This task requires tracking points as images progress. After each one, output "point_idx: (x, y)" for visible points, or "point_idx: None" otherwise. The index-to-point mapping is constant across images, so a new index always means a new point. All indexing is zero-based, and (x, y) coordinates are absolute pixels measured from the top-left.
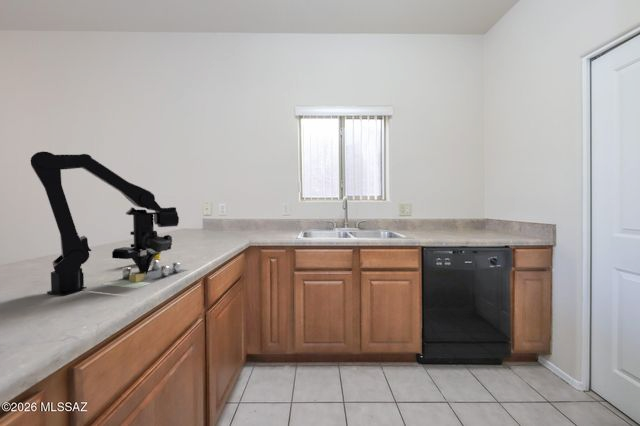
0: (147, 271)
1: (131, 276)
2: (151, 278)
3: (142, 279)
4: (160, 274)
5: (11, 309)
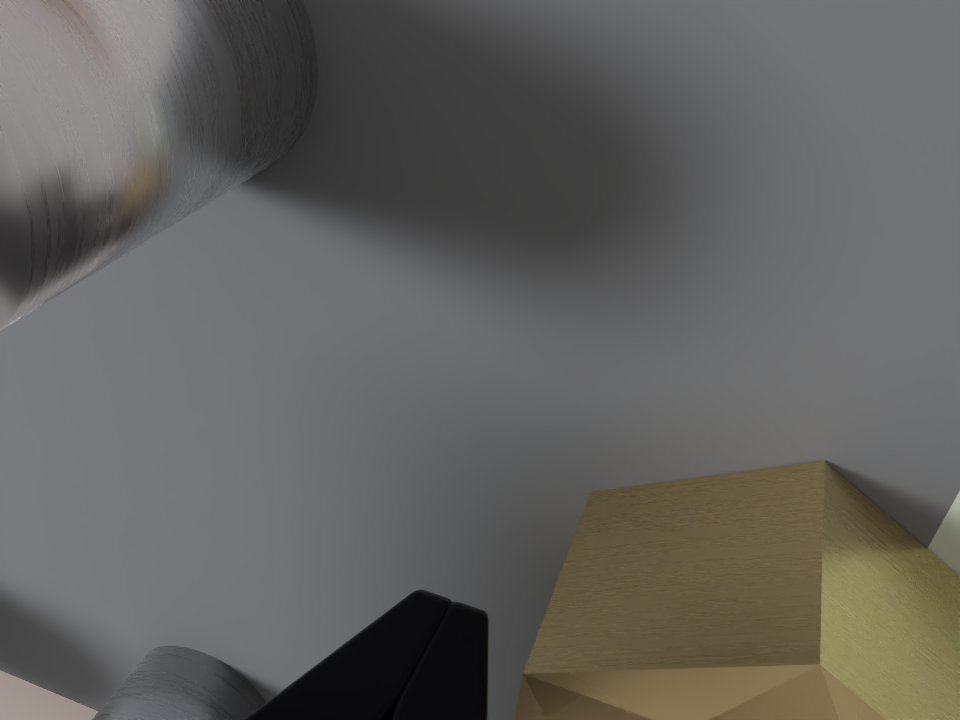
0: (365, 639)
1: None
2: (509, 361)
3: (851, 526)
4: (82, 314)
5: None
